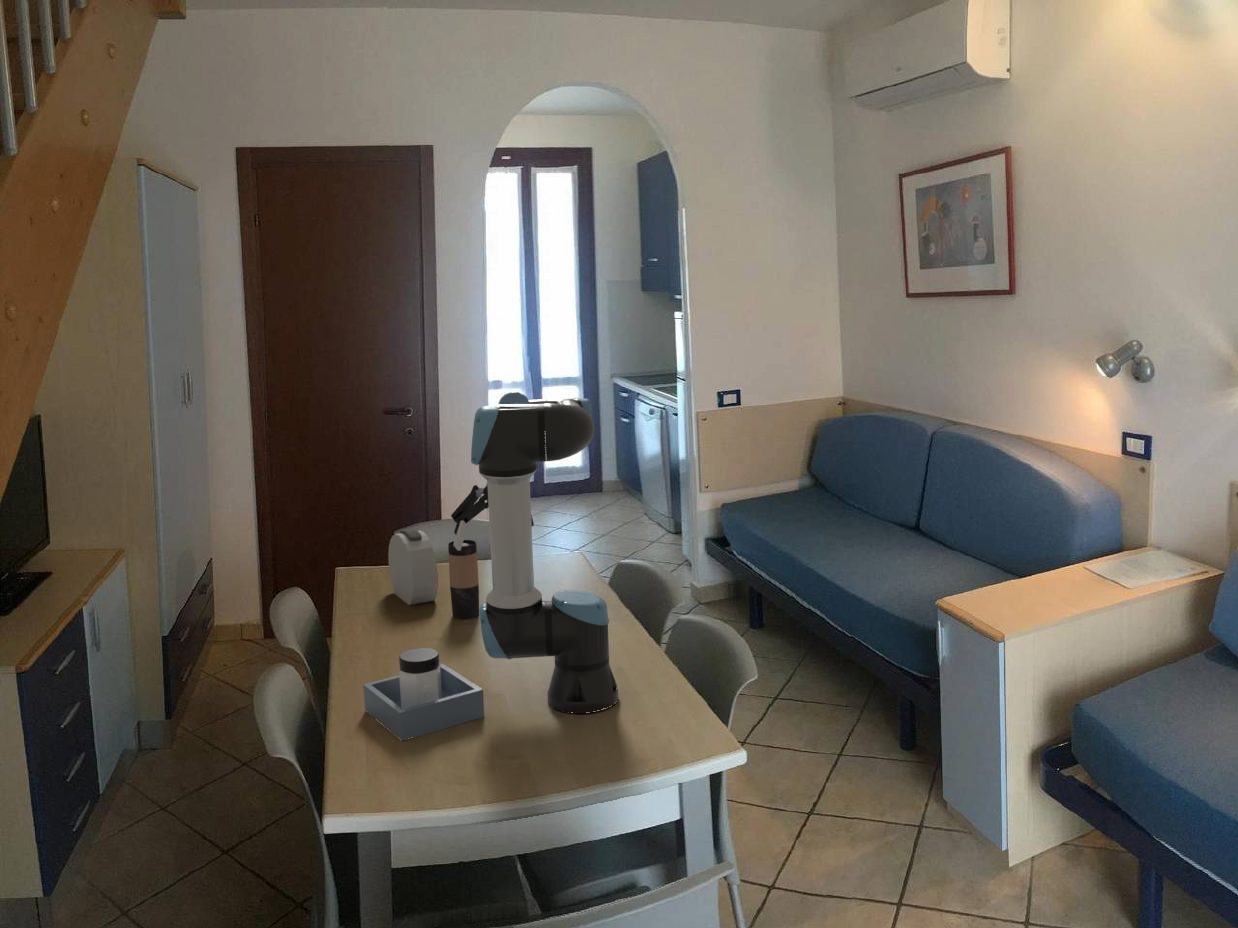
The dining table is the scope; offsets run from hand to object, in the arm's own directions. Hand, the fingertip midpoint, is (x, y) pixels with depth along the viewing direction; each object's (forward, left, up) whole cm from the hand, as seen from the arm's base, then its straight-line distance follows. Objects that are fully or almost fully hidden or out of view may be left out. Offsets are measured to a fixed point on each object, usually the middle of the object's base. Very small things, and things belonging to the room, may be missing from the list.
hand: (483, 549), depth 236 cm
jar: (-16, +24, -27) cm, 40 cm away
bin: (-16, +24, -28) cm, 40 cm away
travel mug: (+36, -13, -28) cm, 48 cm away
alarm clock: (+60, -9, -28) cm, 67 cm away
